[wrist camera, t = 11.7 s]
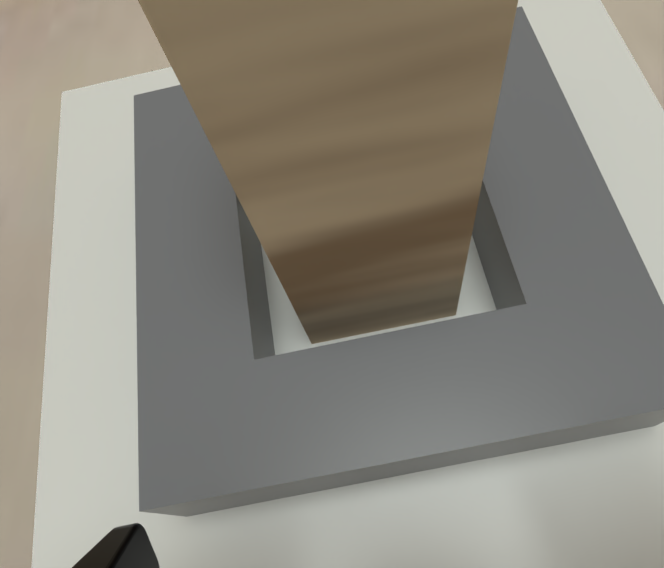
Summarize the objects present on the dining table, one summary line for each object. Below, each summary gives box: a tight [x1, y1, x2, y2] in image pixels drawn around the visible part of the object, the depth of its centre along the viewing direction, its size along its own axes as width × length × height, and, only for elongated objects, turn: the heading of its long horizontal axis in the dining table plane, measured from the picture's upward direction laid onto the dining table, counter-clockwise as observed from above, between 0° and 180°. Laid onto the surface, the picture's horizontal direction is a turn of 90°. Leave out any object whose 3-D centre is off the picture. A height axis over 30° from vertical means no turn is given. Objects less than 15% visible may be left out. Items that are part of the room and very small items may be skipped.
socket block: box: [32, 0, 664, 568], centre depth 17 cm, size 22×22×4 cm
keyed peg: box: [138, 0, 518, 344], centre depth 12 cm, size 6×4×13 cm
